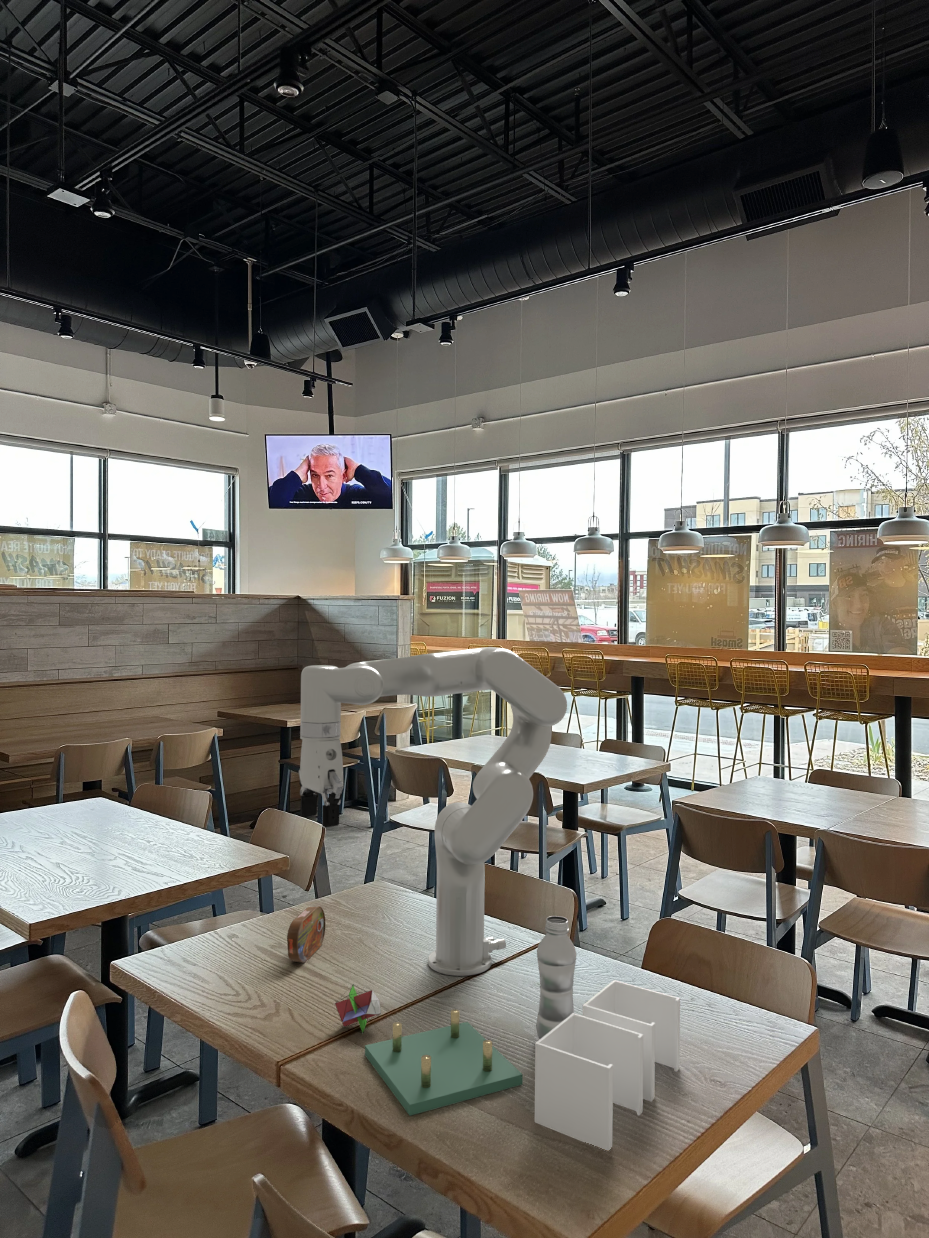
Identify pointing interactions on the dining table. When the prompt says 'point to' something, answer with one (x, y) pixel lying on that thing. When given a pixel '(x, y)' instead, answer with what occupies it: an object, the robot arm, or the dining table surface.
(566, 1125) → the white u-channel brackets
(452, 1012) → the brass standoffs
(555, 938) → the plastic bottle
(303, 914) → the tin
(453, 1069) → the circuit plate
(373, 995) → the geometric puzzle
